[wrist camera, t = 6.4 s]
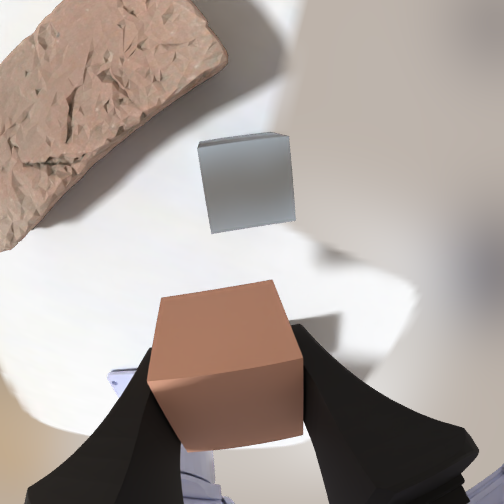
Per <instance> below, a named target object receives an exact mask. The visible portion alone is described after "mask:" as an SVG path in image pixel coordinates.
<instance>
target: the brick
mask: <svg viewBox="0 0 504 504" xmlns="http://www.w3.org/2000/svg"><path fill="white" fill-rule="evenodd" d="M227 64H228V54H227V51H226V49H225V48H224V46H223V45H222V43H221V42H220V40H219V39H218V37H217V35H215V33H214V32H213V31H212V29H211V28H209V27H208V21H207V20H206V18H205V17H204V15H203V14H202V13H201V12H200V10H199V9H198V8H197V7H196V6H195V4H194V3H193V2H192V1H191V0H63V1H62V2H61V3H60V4H59V5H58V6H56V7H55V9H54V10H53V11H52V13H51V14H49V15H48V16H46V17H45V18H44V19H43V20H42V22H41V23H40V24H39V25H38V27H37V28H36V30H35V32H34V33H33V34H32V35H30V36H28V37H27V38H25V39H24V40H23V41H22V42H21V43H20V44H19V45H18V46H17V47H16V48H15V49H14V50H13V51H12V52H11V53H10V54H9V55H8V56H7V57H6V58H5V59H4V61H3V62H2V63H1V64H0V252H3V251H6V250H11V249H12V248H14V247H15V246H16V245H17V244H18V242H20V241H21V240H22V239H23V238H24V237H25V236H26V235H27V233H28V232H29V231H30V230H31V229H33V228H34V227H35V226H36V225H37V224H38V223H39V222H40V221H41V220H42V219H43V218H44V217H45V215H46V214H47V213H48V212H49V211H50V209H51V208H52V207H53V206H54V204H55V203H56V202H57V201H58V200H59V199H60V198H61V197H62V196H63V195H64V194H65V193H66V192H67V191H68V190H69V189H70V188H71V187H72V186H73V185H75V184H76V183H77V182H78V181H79V180H81V179H82V178H83V176H84V175H85V173H86V172H87V171H88V170H89V169H90V168H91V167H92V166H93V165H94V164H95V163H96V162H97V161H99V160H100V159H102V158H103V157H105V156H106V155H107V154H108V153H109V152H110V151H111V150H112V149H113V148H114V147H116V146H117V145H118V144H120V143H121V142H122V141H123V140H125V139H126V138H127V137H128V136H129V135H130V134H132V133H133V132H134V131H135V130H137V129H138V128H139V127H141V126H143V125H144V124H145V123H146V122H147V121H149V120H150V119H151V118H152V117H153V116H155V115H156V114H157V113H159V112H160V111H162V110H163V109H164V108H165V107H167V106H169V105H170V104H172V103H173V102H174V101H176V100H177V99H179V98H180V97H182V96H183V95H185V94H186V93H188V92H189V91H190V90H192V89H193V88H195V87H196V86H198V85H199V84H201V83H203V82H205V81H206V80H207V79H209V78H211V77H212V76H214V75H216V74H217V73H219V71H221V70H222V69H223V68H224V67H225V66H226V65H227Z"/></svg>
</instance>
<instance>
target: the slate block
mask: <svg viewBox="0 0 504 504" xmlns="http://www.w3.org/2000/svg"><path fill="white" fill-rule="evenodd" d="M197 150H198V156H199V162H200V169H201V175H202V181H203V187H204V193H205V199H206V205H207V211H208V217H209V223H210V228H211V234H214V233H220V232H226V231H233V230H239V229H245V228H251V227H258V226H264V225H270V224H277V223H283V222H290V221H295V220H296V218H295V203H294V191H293V177H292V166H291V154H290V144H289V136H286V135H281V134H277V133H273V132H268V133H259V134H250V135H242V136H235V137H227V138H220V139H214V140H208V141H201V142H199V145H198V148H197Z"/></svg>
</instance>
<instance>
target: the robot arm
mask: <svg viewBox="0 0 504 504" xmlns="http://www.w3.org/2000/svg"><path fill="white" fill-rule="evenodd" d="M291 328H292V331H293V333H294V336H295V338H296V341H297V343H298V346H299V348H300V351H301V354H302V356H303V421H304V423H305V426H306V428H307V431H308V433H309V436H310V438H311V441H312V443H313V446H314V449H315V452H316V456H317V459H318V463H319V466H320V469H321V474H322V477H323V481H324V485H325V489H326V492H327V496H328V500H329V504H504V464H503V465H502V466H501V467H500V468H499V469H498V470H496V471H495V472H494V473H492V474H491V475H490V476H488V477H487V478H485V479H484V480H483V481H481V482H480V483H478V484H477V485H475V486H474V487H473V488H471V489H469V490H468V491H466V492H465V490H464V488H463V487H462V484H463V483H464V481H465V480H464V478H463V476H462V475H461V473H462V472H463V471H464V470H465V469H466V468H467V467H468V466H469V465H470V464H471V462H473V461H474V459H475V458H476V457H477V455H478V453H479V449H478V447H477V446H476V444H475V443H474V441H473V439H472V438H471V436H470V435H469V434H468V433H467V432H466V430H465V429H464V428H462V427H459V426H455V425H452V424H448V423H445V422H441V421H438V420H435V419H432V418H430V417H427V416H425V415H422V414H420V413H417V412H415V411H413V410H411V409H409V408H407V407H405V406H403V405H401V404H399V403H397V402H395V401H393V400H391V399H389V398H388V397H386V396H384V395H383V394H381V393H379V392H378V391H376V390H375V389H373V388H372V387H370V386H369V385H367V384H366V383H364V382H363V381H362V380H360V379H359V378H357V377H356V376H355V375H354V374H352V373H351V372H350V371H349V370H347V369H346V368H345V367H344V366H343V365H341V364H340V363H339V362H338V361H337V360H336V359H335V358H334V357H332V356H331V355H330V354H329V353H328V352H327V351H326V350H325V349H324V348H323V347H322V346H321V345H320V344H319V343H318V342H317V341H316V340H315V339H314V338H313V337H312V336H311V335H310V334H309V332H308V331H307V330H306V329H305V328H304V327H303V326H302V325H301V324H296V325H291ZM151 351H152V348H149V350H148V351H147V353H146V354H145V356H144V358H143V360H142V361H141V363H140V365H139V367H138V368H137V370H134V371H121V372H109V373H108V375H107V379H108V381H109V383H110V384H111V386H112V388H113V389H114V391H115V392H116V394H117V396H118V397H119V399H118V401H117V402H116V403H115V405H114V406H113V408H112V409H111V411H110V412H109V414H108V415H107V416H106V418H105V419H104V420H103V422H102V423H101V424H100V425H99V427H98V428H97V429H96V430H95V431H94V433H93V434H92V435H91V436H90V437H89V438H88V439H87V440H86V441H85V443H84V444H82V445H81V447H80V448H79V449H78V450H77V451H76V452H75V453H74V454H73V455H71V456H70V457H69V458H68V459H67V460H66V461H65V462H64V463H63V464H61V465H60V466H59V467H57V468H56V469H55V470H54V471H52V472H51V473H50V474H48V475H47V476H46V477H44V478H43V479H41V480H40V481H38V482H37V483H35V484H34V485H32V486H30V487H29V488H28V490H27V494H26V499H25V503H24V504H235V503H234V502H233V500H232V499H230V498H229V497H226V496H222V495H221V487H220V485H219V484H214V483H215V470H214V458H213V450H211V451H201V452H187V451H186V449H185V448H184V446H183V444H182V443H181V441H180V440H179V438H178V436H177V435H176V433H175V431H174V430H173V428H172V426H171V425H170V423H169V421H168V420H167V418H166V416H165V414H164V412H163V411H162V409H161V407H160V405H159V404H158V402H157V400H156V398H155V396H154V394H153V392H152V390H151V389H150V387H149V385H148V383H147V377H148V370H149V364H150V358H151ZM115 381H116V382H115Z"/></svg>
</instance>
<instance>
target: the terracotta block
mask: <svg viewBox="0 0 504 504" xmlns="http://www.w3.org/2000/svg"><path fill="white" fill-rule="evenodd" d="M147 383H148V385H149V387H150V389H151V390H152V392H153V394H154V396H155V398H156V400H157V402H158V404H159V405H160V407H161V409H162V411H163V412H164V414H165V416H166V418H167V420H168V421H169V423H170V425H171V426H172V428H173V430H174V431H175V433H176V435H177V436H178V438H179V440H180V441H181V443H182V444H183V446H184V448H185V449H186V451H187V452H201V451H211V450H220V449H228V448H236V447H243V446H249V445H255V444H261V443H267V442H272V441H277V440H282V439H287V438H291V437H296V436H300V435H303V356H302V354H301V351H300V348H299V346H298V343H297V341H296V338H295V336H294V333H293V331H292V328H291V326H290V323H289V320H288V318H287V315H286V313H285V310H284V308H283V305H282V303H281V300H280V298H279V295H278V293H277V290H276V288H275V285H274V283H273V280H267V281H262V282H256V283H250V284H244V285H238V286H233V287H227V288H220V289H214V290H208V291H202V292H196V293H189V294H183V295H176V296H170V297H163V298H161V302H160V307H159V312H158V318H157V323H156V328H155V334H154V340H153V345H152V351H151V358H150V364H149V370H148V377H147Z"/></svg>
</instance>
